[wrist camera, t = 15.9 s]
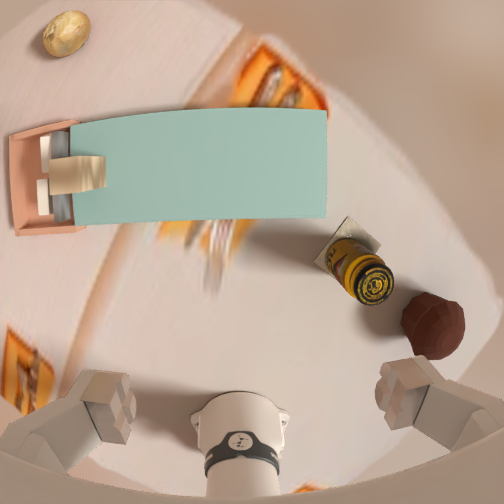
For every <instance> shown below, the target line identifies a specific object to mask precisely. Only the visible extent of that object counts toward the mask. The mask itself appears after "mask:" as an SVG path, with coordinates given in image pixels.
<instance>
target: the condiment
mask: <svg viewBox="0 0 504 504" xmlns="http://www.w3.org/2000/svg"><path fill="white" fill-rule="evenodd" d="M349 235H352V236H349ZM347 236H349V237H347ZM380 246H381V244H380V243H378V242H377V241H376V240H375V239H374V238H373V237H372V236H370V235H369V234H368V233H367V232H366V231H365V230H363V229H362V228H361V227H360V226H359V225H358V224H356V223H355V222H354V221H353V220H352V219H351V218H349V217H348V218H347V219H346V220H345V222H344V223H343V224H342V226H341V227H340V228H339V230H338V231H337V232H336V234H335V235H334V236H333V237H332V239H331V240H330V241H329V242H328V244H327V245H326V246H325V248H324V249H323V250H322V251H321V253H320V254H319V255H318V257H317V258H316V259H315V261H314V263H315V264H316V265H318V266H319V267H320V268H322V269H323V270H324V271H326V272H327V273H329V274H330V275H331V276H333V277H334V278H335V279H337V281H338V282H339V283H340V284H341V285H342V286H343V287H344V288H345V290H346V291H347V292H348V293H349V294H350V295H351V296H352V297H354V298H356V299H357V300H358V301H360V302H361V303H363V304H365V305H378V304H380V303H382V302H383V301H385V300H386V299H387V298H388V297H389V295H390V294H391V292H392V290H393V287H394V277H393V273H392V272H391V270H390V269H389V268H388V267H387V266H386V265H385V263H384V261H383V260H382V259H381V258H380V257H379V256H377V255H376V254H375V253H376V252H377V251H378V249H379V248H380Z"/></svg>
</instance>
